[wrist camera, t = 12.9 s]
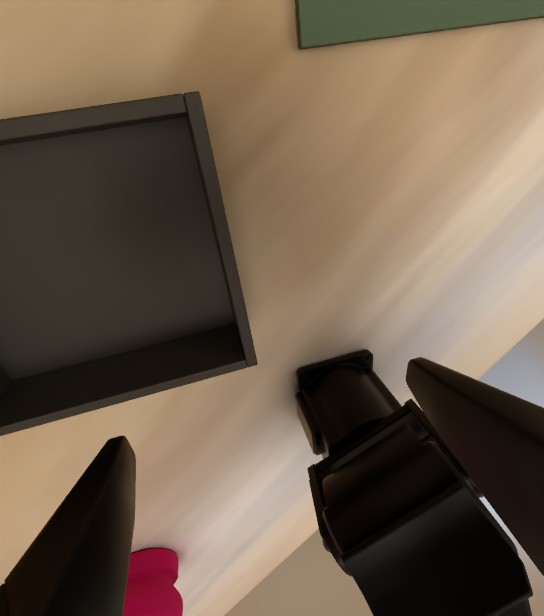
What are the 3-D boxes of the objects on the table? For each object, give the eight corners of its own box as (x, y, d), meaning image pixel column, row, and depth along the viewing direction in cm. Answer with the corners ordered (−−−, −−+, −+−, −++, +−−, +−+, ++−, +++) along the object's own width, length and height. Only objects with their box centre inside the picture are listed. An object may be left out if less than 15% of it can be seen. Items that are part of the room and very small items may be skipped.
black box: (194, 100, 15) (199, 90, 11) (244, 325, 22) (258, 365, 18) (-174, 155, 13) (-319, 165, 9) (10, 385, 20) (-30, 445, 16)
